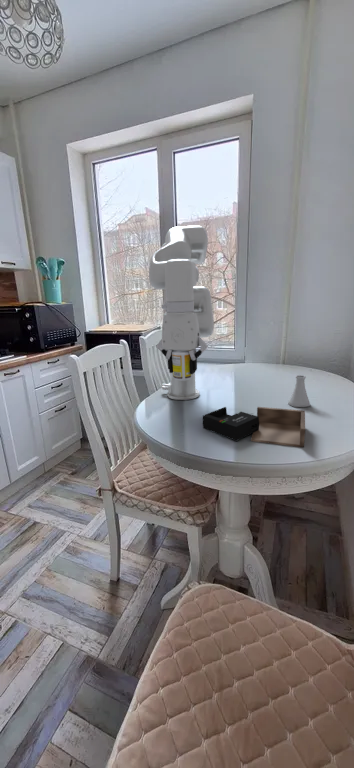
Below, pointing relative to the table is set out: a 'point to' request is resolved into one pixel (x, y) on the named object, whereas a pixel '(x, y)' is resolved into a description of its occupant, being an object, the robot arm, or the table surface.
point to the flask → (299, 393)
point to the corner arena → (280, 426)
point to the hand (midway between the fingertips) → (182, 371)
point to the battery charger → (231, 423)
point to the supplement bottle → (181, 365)
